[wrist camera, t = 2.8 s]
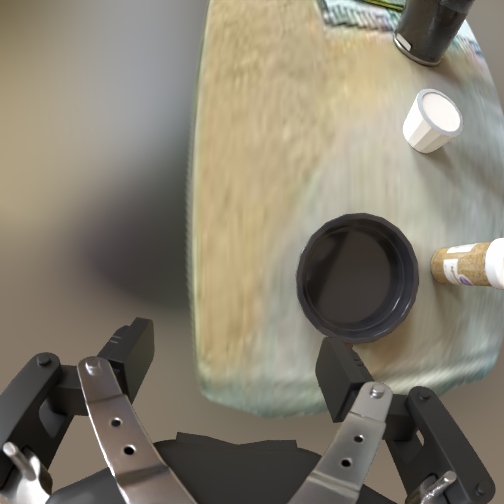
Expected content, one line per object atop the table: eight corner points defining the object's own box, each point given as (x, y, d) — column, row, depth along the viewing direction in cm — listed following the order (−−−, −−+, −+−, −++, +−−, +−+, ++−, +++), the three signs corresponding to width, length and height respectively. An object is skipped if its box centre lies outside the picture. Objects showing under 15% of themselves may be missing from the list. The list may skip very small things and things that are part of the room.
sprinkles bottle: (425, 278, 28) (492, 282, 15) (434, 242, 28) (500, 229, 15) (451, 287, 28) (519, 295, 14) (459, 253, 28) (527, 246, 14)
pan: (309, 209, 31) (312, 200, 27) (411, 235, 29) (427, 230, 24) (283, 320, 31) (282, 329, 26) (387, 341, 29) (400, 352, 24)
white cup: (429, 167, 29) (454, 147, 22) (390, 133, 30) (408, 107, 23) (446, 136, 28) (469, 115, 22) (410, 106, 29) (427, 79, 23)
